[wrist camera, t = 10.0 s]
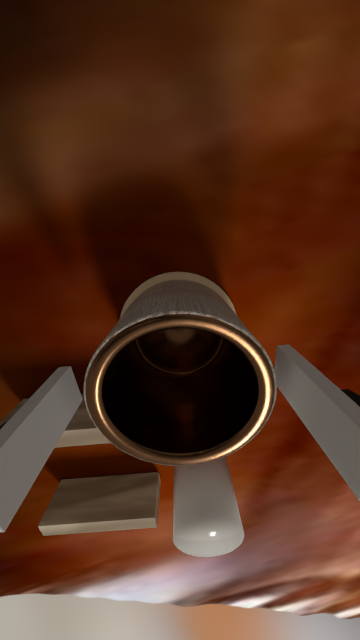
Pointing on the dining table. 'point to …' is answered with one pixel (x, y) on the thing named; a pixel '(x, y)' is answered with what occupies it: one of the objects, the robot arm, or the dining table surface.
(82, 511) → the cradle
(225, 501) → the white cylinder
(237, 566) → the dining table surface
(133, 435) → the planter
